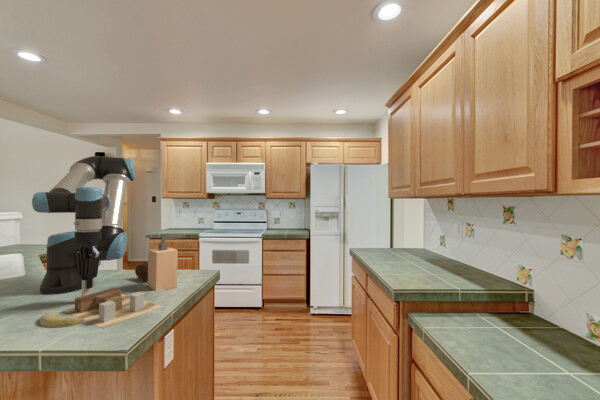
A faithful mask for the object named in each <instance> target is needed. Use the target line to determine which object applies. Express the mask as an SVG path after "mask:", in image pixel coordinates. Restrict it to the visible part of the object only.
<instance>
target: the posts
mask: <svg viewBox="0 0 600 400" xmlns="http://www.w3.org/2000/svg"><path fill="white" fill-rule="evenodd" d="M129 296H130V310H132V311H138V310H141V309H144V301H145V293H144V292H141V291H137V292H134V293H130V294H129ZM115 307H116V302H113V301H107V302H104V303H100V304H99V321H102V322H104V323H105V322H108V321H110V320H113V319H115Z"/></svg>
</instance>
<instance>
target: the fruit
mask: <svg viewBox="0 0 600 400" xmlns="http://www.w3.org/2000/svg"><path fill="white" fill-rule="evenodd" d="M60 314H61V312H58V311H50V312H47V313H44V314H43V315H42V316H41V317H40V318H39V319H40V320H39V324H40V325H41V326H42V327H46V328H68V327H74V326H78V325H81V324H83V323H84V322H85V320H84V319H82V318H78V317H76V316H70V317H67V316H66V317H64V316H63V317H60Z"/></svg>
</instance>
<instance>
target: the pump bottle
mask: <svg viewBox="0 0 600 400" xmlns="http://www.w3.org/2000/svg"><path fill="white" fill-rule="evenodd" d="M160 237H161V240H160V242H161V243H160V242H159V243H158V248H153V249H148V250H147V251H148V253H147V261H148V281H147V286H148V288H151V289H152V290H154V291H160V290H162V291H163V290H164V291H170V290H174V289H177V288H178V253H179V252H178V251H179V250H178V249H176V248H173V247H168V243H166V241H167V240H176V239H184V234H182V233H181V234H173V235H172V234H171V235H161V236H160Z"/></svg>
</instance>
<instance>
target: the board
mask: <svg viewBox="0 0 600 400" xmlns="http://www.w3.org/2000/svg"><path fill="white" fill-rule="evenodd" d="M121 297H122V309H121V310H118V311H115V319H113V320H110V321H108V322H105V323H104V322H102V321H99V310H98V309H92V310H89V311H86V312H83V313H80V312H78V311H75V306H74V307H70V308H68V309H67V308H66V309H65V310H62V312H64V313H66V314H69V315H71V316H72V317H76V318H82V319H84V322H88V323H90V324H92V325H93V326H97V327H99V328H101V329H106V328H109V327H111V326H114V325H116V324H119V323H122V322H124V321H127V320H129V319H132V318H135V317H137V316H140V315H143V314H145V313H148V312H151V311H153V310H157V309H158V308H161V307H162V305H159V304H156V303H153V302H149V301H146V300H144V309H141V310H138V311H132V310H130V295H127V294H123V293H121Z"/></svg>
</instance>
